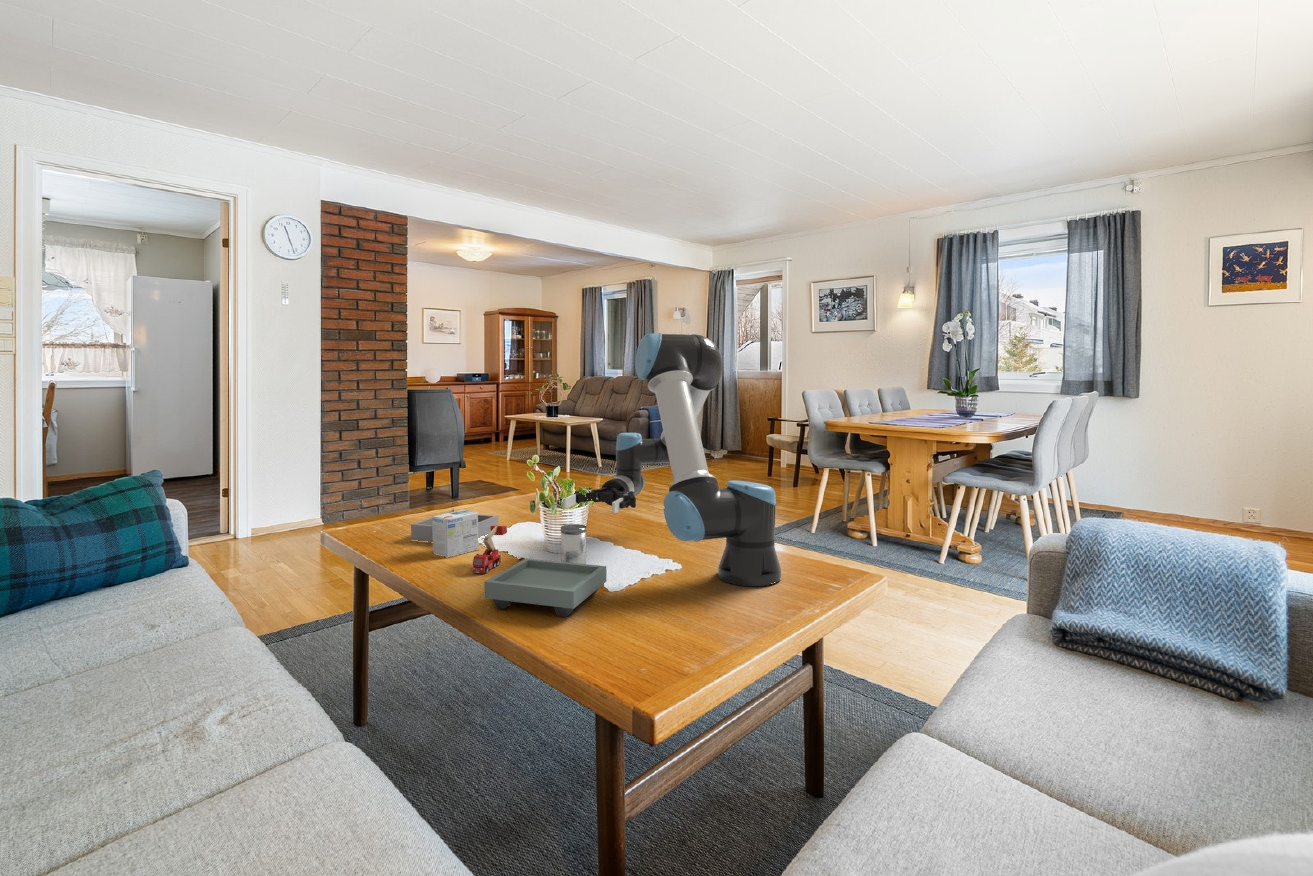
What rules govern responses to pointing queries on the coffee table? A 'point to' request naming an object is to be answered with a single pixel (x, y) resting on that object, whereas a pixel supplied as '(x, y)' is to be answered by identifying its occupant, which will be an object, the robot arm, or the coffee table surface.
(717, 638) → the coffee table surface
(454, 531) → the light bulb box
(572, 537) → the canister
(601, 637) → the coffee table surface
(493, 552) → the toy fire truck
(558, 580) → the dolly
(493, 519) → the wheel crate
